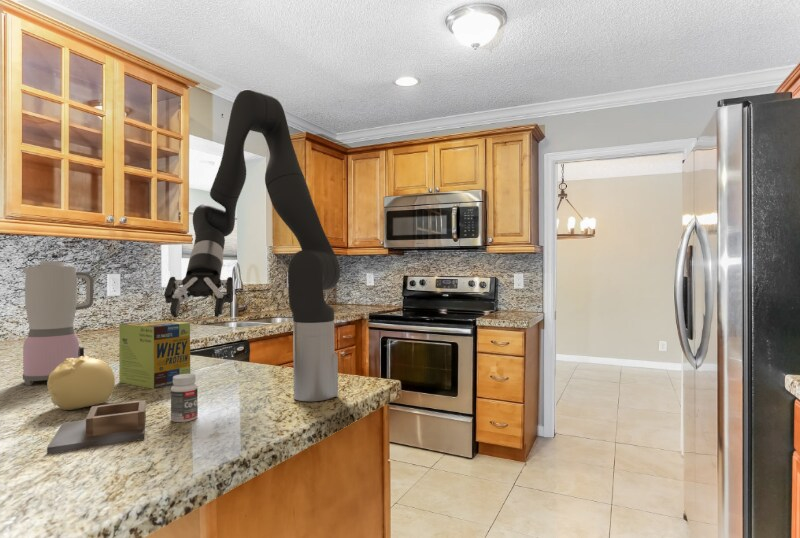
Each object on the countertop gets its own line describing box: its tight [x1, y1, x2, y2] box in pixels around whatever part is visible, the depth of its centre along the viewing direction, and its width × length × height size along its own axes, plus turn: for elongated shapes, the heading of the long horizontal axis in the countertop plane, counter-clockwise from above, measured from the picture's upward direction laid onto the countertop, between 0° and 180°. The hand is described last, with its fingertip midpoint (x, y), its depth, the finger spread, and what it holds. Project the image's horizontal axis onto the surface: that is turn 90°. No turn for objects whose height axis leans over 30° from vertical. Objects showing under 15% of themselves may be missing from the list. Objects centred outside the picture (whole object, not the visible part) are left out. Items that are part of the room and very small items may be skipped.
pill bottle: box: [170, 373, 199, 423], centre depth 91 cm, size 5×5×8 cm
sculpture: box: [46, 355, 116, 411], centre depth 100 cm, size 12×12×11 cm
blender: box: [21, 260, 95, 386], centre depth 127 cm, size 16×12×32 cm
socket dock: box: [46, 399, 147, 455], centre depth 82 cm, size 13×14×4 cm
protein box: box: [118, 320, 191, 390], centre depth 123 cm, size 10×15×16 cm
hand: (195, 314), depth 102 cm, fingers open, 8 cm apart
